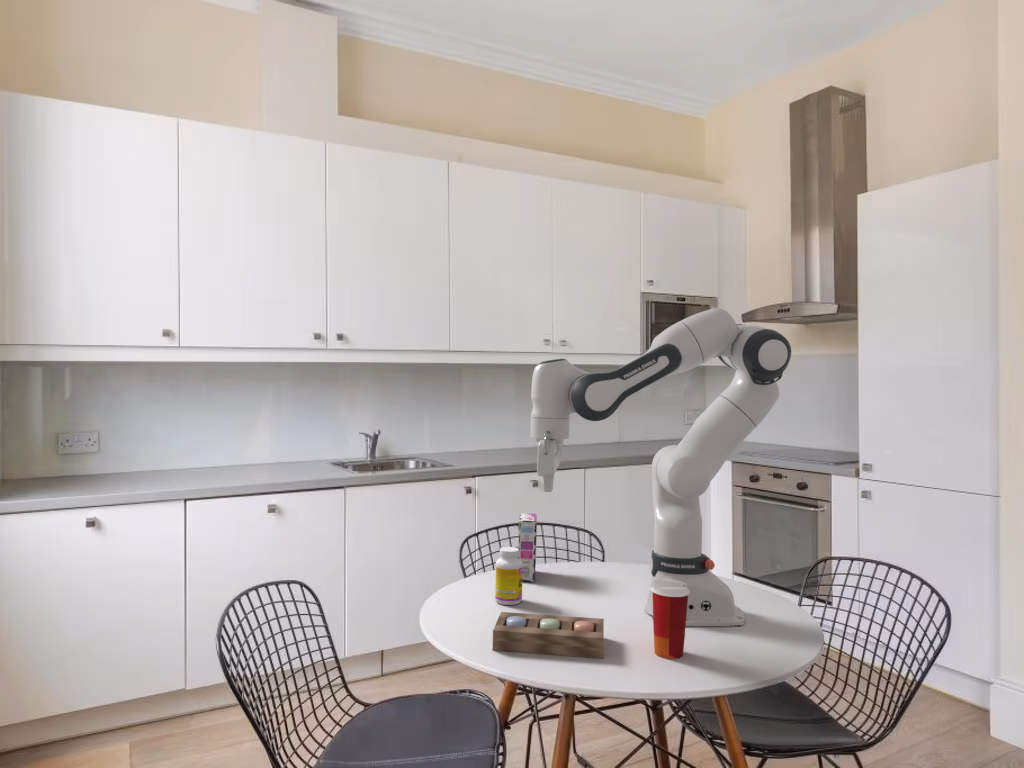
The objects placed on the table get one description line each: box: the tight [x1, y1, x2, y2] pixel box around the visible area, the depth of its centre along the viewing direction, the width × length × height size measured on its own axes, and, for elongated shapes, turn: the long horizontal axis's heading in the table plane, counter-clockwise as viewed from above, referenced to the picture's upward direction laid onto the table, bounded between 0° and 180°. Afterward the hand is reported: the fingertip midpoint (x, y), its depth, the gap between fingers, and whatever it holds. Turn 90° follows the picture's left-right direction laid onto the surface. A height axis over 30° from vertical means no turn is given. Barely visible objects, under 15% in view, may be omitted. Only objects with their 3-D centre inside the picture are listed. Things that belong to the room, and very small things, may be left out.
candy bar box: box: [517, 512, 538, 583], centre depth 189 cm, size 11×5×16 cm, turn 178°
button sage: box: [540, 619, 560, 629], centre depth 142 cm, size 4×4×2 cm
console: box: [492, 611, 605, 659], centre depth 142 cm, size 22×11×4 cm, turn 82°
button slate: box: [507, 616, 526, 627], centre depth 143 cm, size 4×4×2 cm
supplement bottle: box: [494, 546, 523, 606], centre depth 168 cm, size 7×7×13 cm
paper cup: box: [649, 579, 690, 660], centre depth 138 cm, size 8×8×14 cm
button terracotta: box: [574, 621, 594, 632], centre depth 141 cm, size 4×4×2 cm
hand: (548, 491), depth 156 cm, fingers closed
